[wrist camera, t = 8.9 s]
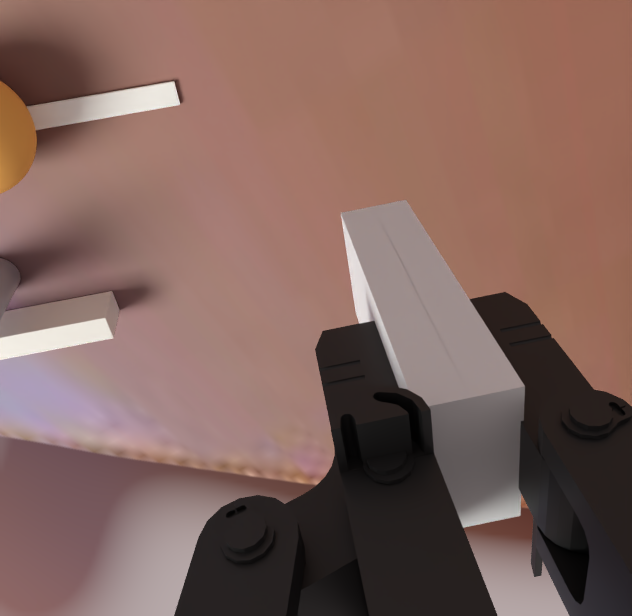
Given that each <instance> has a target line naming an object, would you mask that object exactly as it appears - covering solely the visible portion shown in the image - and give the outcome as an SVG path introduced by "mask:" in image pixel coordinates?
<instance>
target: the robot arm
mask: <svg viewBox="0 0 632 616" xmlns="http://www.w3.org/2000/svg"><path fill="white" fill-rule="evenodd" d="M341 218H342V225H343V231H344V238H345V244H346V251H347V257H348V264H349V271H350V277H351V284H352V290H353V297H354V304H355V310H356V314H357V317H358V321H359V324H355V325H350V326H345V327H340V328H335V329H330V330H326V331H323V332H322V334H321V337H320V339H319V342H318V344H317V346H316V349H315V351H316V356H317V361H318V366H319V371H320V376H321V381H322V386H323V391H324V396H325V400H326V405H327V410H328V415H329V420H330V425H331V432H332V437H333V442H334V446H335V457H334V460H333V464H332V467H331V468H330V470H329V472H328V473H327V475H326V477H325V478H324V479H323V480H322V481H321V482H320V483H319V484H318V485H317V486H316V487H314V488H313V489H311V490H310V491H308V492H306V493H305V494H303V495H301V496H299V497H297V498H296V499H294V500H292V501H290V502H288V503H286V504H284V503H282V502H281V501H279V500H277V499H276V498H272V497H265V496H259V495H256V496H251V497H245V498H239V499H237V500H236V501H233V502H231V503H229V504H227V505H225V506H223V507H221V508H220V509H219V510H218V511H217V512H216V513H215V514H214V515H213V516H212V517H211V518H210V519H209V520H208V521H207V523H206V525H205V526H204V528H203V530H202V532H201V534H200V536H199V538H198V541H197V544H196V547H195V551H194V554H193V557H192V560H191V563H190V567H189V570H188V573H187V576H186V579H185V583H184V586H183V589H182V593H181V595H180V599H179V602H178V605H177V609H176V612H175V615H174V616H497V613H496V611H495V608H494V606H493V603H492V600H491V598H490V595H489V593H488V590H487V588H486V585H485V583H484V580H483V577H482V575H481V572H480V570H479V567H478V565H477V562H476V559H475V557H474V554H473V552H472V549H471V547H470V544H469V541H468V539H467V536H466V534H465V531H464V529H463V528H464V527H468V526H473V525H478V524H483V523H488V522H492V521H497V520H502V519H507V518H512V517H516V516H520V509H521V494H522V496H523V498H524V500H525V502H526V504H527V506H528V508H529V509H530V511H531V513H532V515H533V536H532V553H531V554H532V555H531V565H532V569H533V573H534V577H536V576H541V571H542V560H543V562H544V564H545V566H546V568H547V570H548V572H549V575H550V577H551V579H552V581H553V583H554V585H555V587H556V589H557V591H558V593H559V595H560V597H561V599H562V601H563V603H564V605H565V607H566V609H567V611H568V613H569V615H570V616H632V407H631V406H630V405H629V404H628V403H627V402H626V401H624V400H623V399H621V398H618V397H616V396H614V395H612V394H609V393H607V392H604V391H598V390H594V389H593V388H592V387H591V385H590V384H589V383H588V381H587V380H586V379H585V378H584V376H583V375H582V374H581V372H580V371H579V370H578V369H577V367H576V366H575V365H574V364H573V362H572V361H571V360H570V358H569V357H568V356H567V355H566V353H565V352H564V351H563V349H562V348H561V347H560V346H559V344H558V343H557V342H556V341H555V339H554V338H553V339H552V338H551V334H550V333H549V332H548V330H547V329H546V328H545V326H544V325H543V324H542V325H541V323H540V320H539V319H538V318H537V316H536V315H535V314H534V312H533V311H532V310H531V309H530V307H529V306H528V305H527V304H526V303H524V302H522V301H520V300H519V299H517V298H515V297H513V296H511V295H510V294H508V293H506V292H503V293H498V294H493V295H488V296H483V297H478V298H473V299H469V298H468V296H467V295H466V293H465V292H464V290H463V289H462V287H461V285H460V284H459V282H458V281H457V279H456V278H455V276H454V274H453V273H452V271H451V270H450V268H449V267H448V265H447V263H446V262H445V260H444V259H443V257H442V256H441V254H440V253H439V251H438V249H437V248H436V246H435V245H434V243H433V242H432V240H431V238H430V237H429V235H428V234H427V232H426V231H425V229H424V227H423V226H422V224H421V223H420V221H419V220H418V218H417V217H416V215H415V213H414V212H413V210H412V209H411V207H410V206H409V204H408V202H407V201H406V200H403V201H398V202H393V203H388V204H383V205H378V206H373V207H368V208H363V209H358V210H353V211H348V212H343V213H341Z"/></svg>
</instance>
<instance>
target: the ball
mask: <svg viewBox="0 0 632 616" xmlns="http://www.w3.org/2000/svg"><path fill="white" fill-rule="evenodd" d="M36 146H37V137H36V130H35V125H34V122H33V119H32V117H31V115H30V112H29V110H28V109H27V107H26V106H25V104H24V102H23V101H22V100H21V99H20V98H19V96H18V95H17V94H16V93H15V92H14V91H13V90H12V89H11V88H10V87H8V86H7V85H6V84H4V83H3V82H2V81H0V193H3V192H5V191H7V190H9V189H11V188H12V187H13V186H15V185H16V184H18V183H19V182H20V181H21V180H22V179H23V178H24V176H25V175H26V174H27V172H28V171H29V169H30V167H31V165H32V163H33V160H34V158H35V153H36Z"/></svg>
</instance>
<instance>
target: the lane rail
mask: <svg viewBox="0 0 632 616" xmlns="http://www.w3.org/2000/svg"><path fill="white" fill-rule="evenodd" d="M119 312H120V310H119V307H118V305H117V302H116V300H115V297H114V294H113V292H112V291H109V292H104V293H99V294H94V295H88V296H83V297H78V298H72V299H67V300H62V301H56V302H51V303H46V304H41V305H35V306H30V307H25V308H19V309H14V310H9V311H5V312H4V314H3V316H2V318H1V320H0V360H2V359H7V358H13V357H18V356H23V355H28V354H33V353H39V352H44V351H49V350H54V349H59V348H65V347H70V346H75V345H80V344H85V343H91V342H96V341H101V340H106V339H111V338H114V333H115V329H116V325H117V320H118V316H119Z"/></svg>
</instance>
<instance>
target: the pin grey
mask: <svg viewBox="0 0 632 616" xmlns="http://www.w3.org/2000/svg"><path fill="white" fill-rule="evenodd" d="M19 283H20V273H19V271H18V269H17V268H16V266H15V265H14V264H12V263H11V262H10V261H8V260H6V259H3V258H0V320H1V318H2V316H3V314H4V312H5V310H6V308H7V306H8V304H9V302H10V300H11V298H12V296H13V294H14V292H15V290H16V289H17V287H18V285H19Z"/></svg>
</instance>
